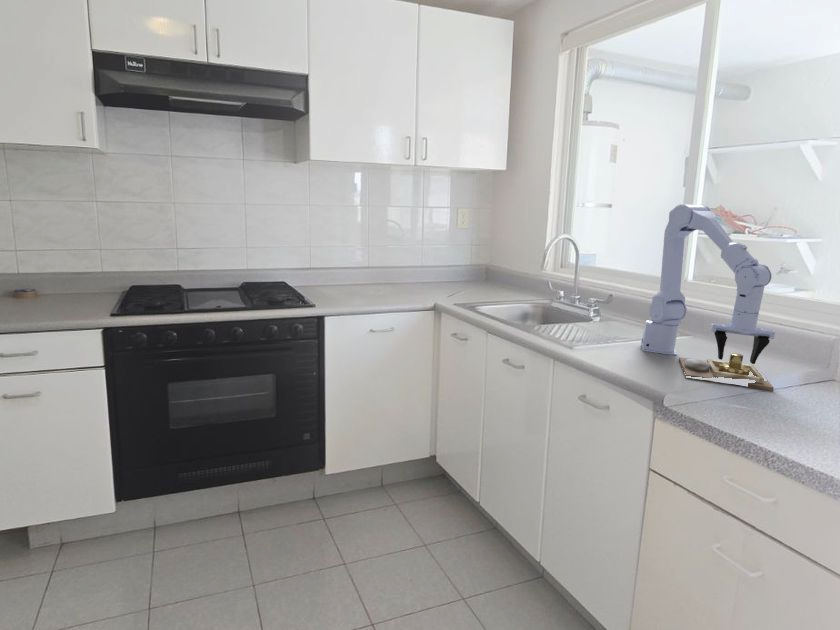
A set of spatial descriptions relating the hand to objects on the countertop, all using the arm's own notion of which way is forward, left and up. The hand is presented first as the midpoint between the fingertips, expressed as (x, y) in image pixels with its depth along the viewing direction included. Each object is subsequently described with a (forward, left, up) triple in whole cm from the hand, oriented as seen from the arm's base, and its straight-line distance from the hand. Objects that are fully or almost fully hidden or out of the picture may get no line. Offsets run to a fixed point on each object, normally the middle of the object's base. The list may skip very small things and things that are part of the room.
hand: (736, 360), depth 146 cm
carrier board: (-2, 0, -4) cm, 5 cm away
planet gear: (0, 0, -3) cm, 3 cm away
